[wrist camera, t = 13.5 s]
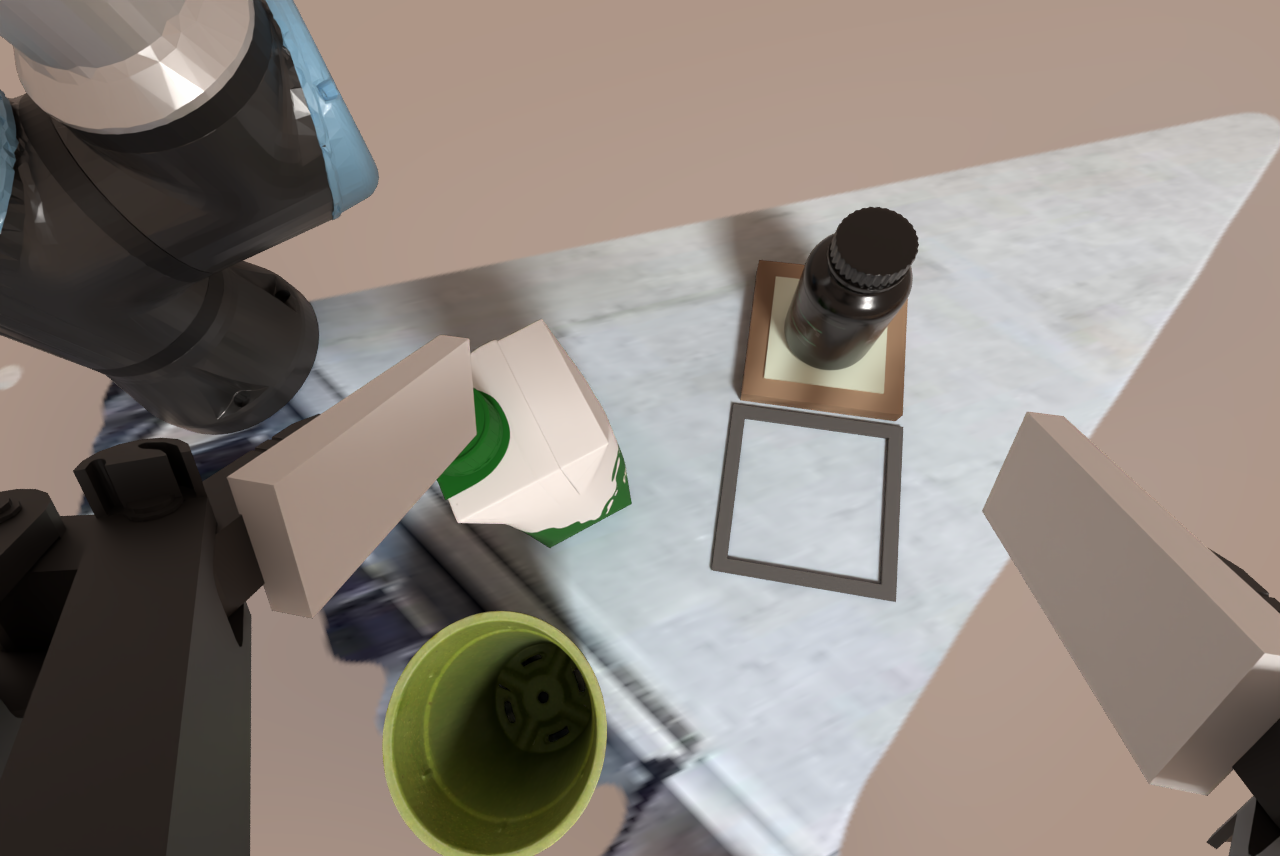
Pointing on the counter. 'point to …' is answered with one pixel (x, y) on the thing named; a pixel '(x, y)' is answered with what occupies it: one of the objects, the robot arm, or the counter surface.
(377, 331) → the counter surface
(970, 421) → the counter surface
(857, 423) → the ring
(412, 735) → the plant pot
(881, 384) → the walnut board
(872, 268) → the supplement bottle
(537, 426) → the milk carton
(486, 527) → the counter surface
